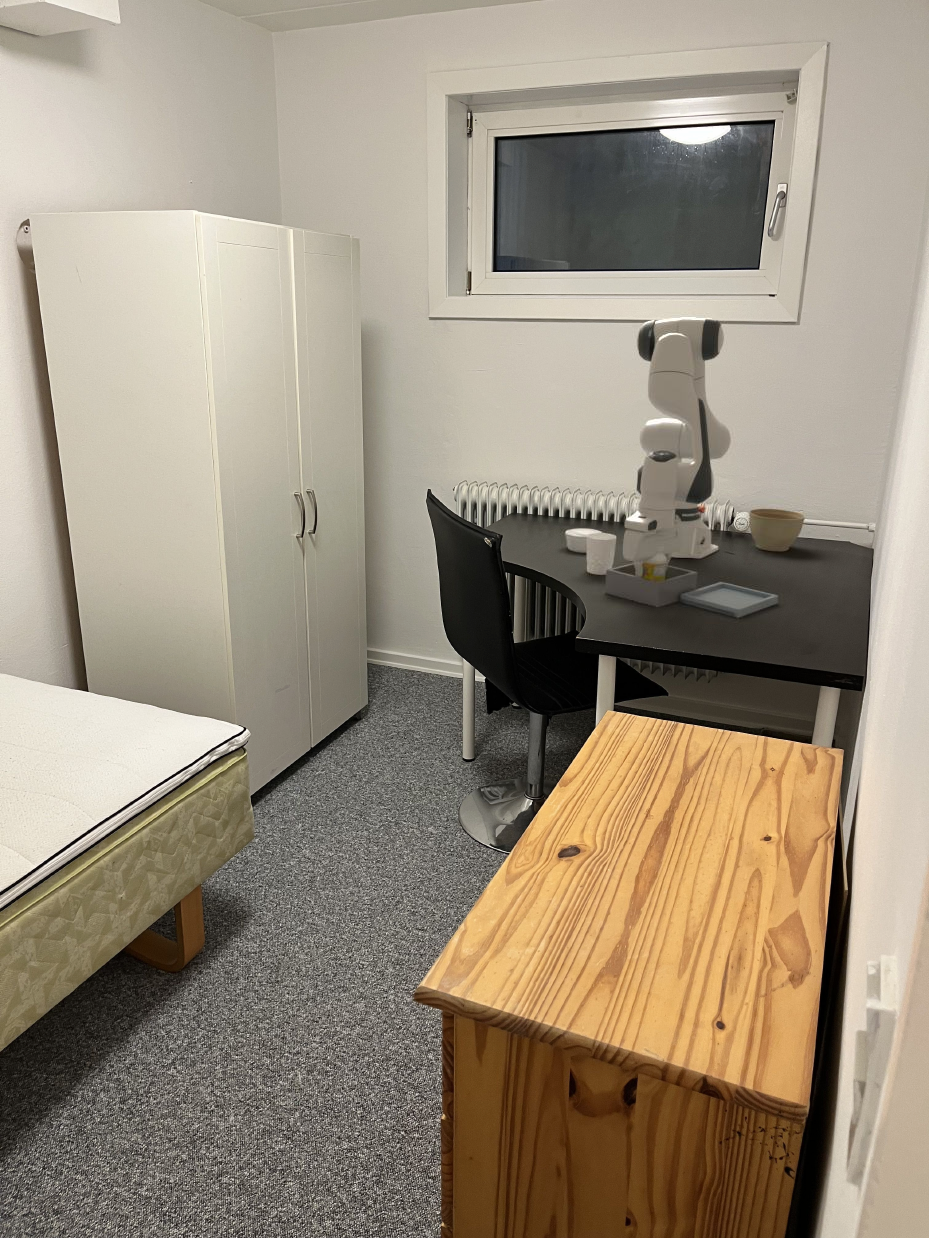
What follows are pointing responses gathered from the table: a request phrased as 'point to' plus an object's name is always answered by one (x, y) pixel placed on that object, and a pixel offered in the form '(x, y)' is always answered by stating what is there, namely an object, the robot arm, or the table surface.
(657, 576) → the supplement bottle
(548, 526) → the table surface
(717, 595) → the tray
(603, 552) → the white cup
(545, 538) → the table surface
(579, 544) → the ramekin
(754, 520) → the planter bowl
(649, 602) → the deep holder
